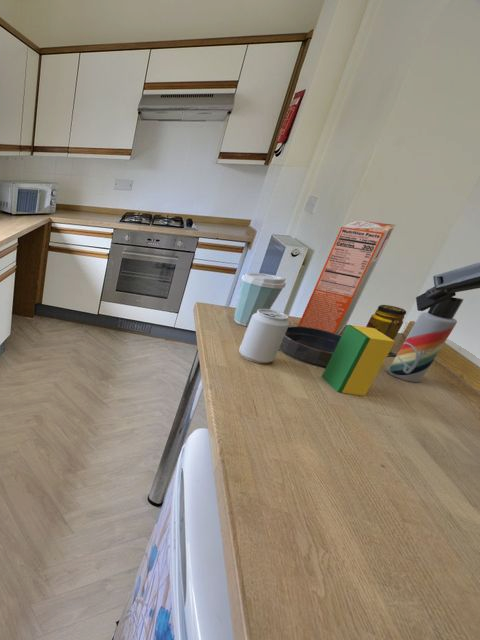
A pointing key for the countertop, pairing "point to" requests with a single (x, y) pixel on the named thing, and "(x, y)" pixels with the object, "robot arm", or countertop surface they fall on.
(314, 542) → the countertop surface
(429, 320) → the striped water bottle
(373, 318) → the condiment
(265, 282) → the disposable coffee cup
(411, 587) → the countertop surface
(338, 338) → the bowl
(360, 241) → the cereal box
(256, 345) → the can
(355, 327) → the sponge
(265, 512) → the countertop surface
